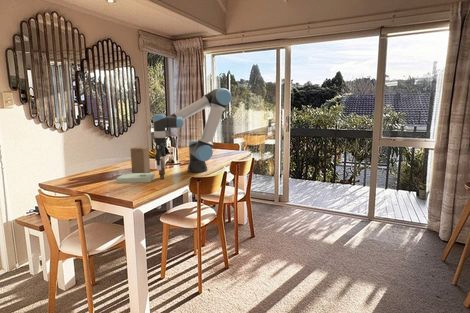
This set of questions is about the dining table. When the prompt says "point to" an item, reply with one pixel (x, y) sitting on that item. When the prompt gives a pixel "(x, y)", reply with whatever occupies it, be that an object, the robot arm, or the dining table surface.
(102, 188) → the dining table surface
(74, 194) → the dining table surface
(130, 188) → the dining table surface
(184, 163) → the dining table surface
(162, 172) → the walnut peg
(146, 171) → the wooden block
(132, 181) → the board
